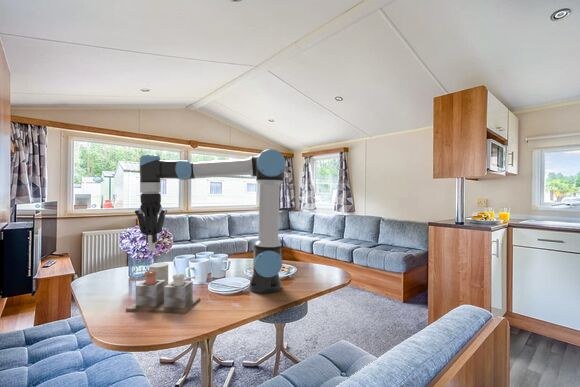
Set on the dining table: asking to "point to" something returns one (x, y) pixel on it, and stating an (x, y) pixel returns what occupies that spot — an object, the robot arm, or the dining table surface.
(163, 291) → the socket board
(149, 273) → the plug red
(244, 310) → the dining table surface
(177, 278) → the plug cream
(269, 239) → the robot arm
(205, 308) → the dining table surface
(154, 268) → the beige rectangular block
